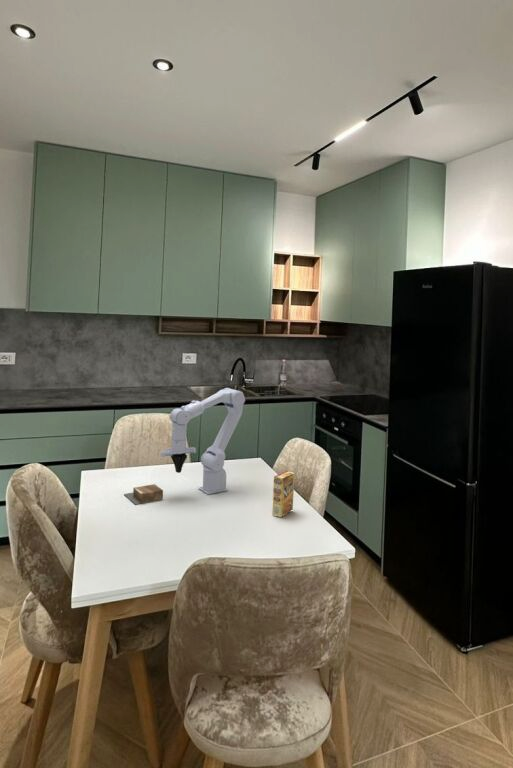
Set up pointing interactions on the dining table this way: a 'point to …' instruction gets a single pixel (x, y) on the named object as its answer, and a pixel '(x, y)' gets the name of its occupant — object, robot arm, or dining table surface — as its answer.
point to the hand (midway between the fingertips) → (178, 471)
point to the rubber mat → (134, 500)
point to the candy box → (283, 493)
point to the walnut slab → (148, 493)
